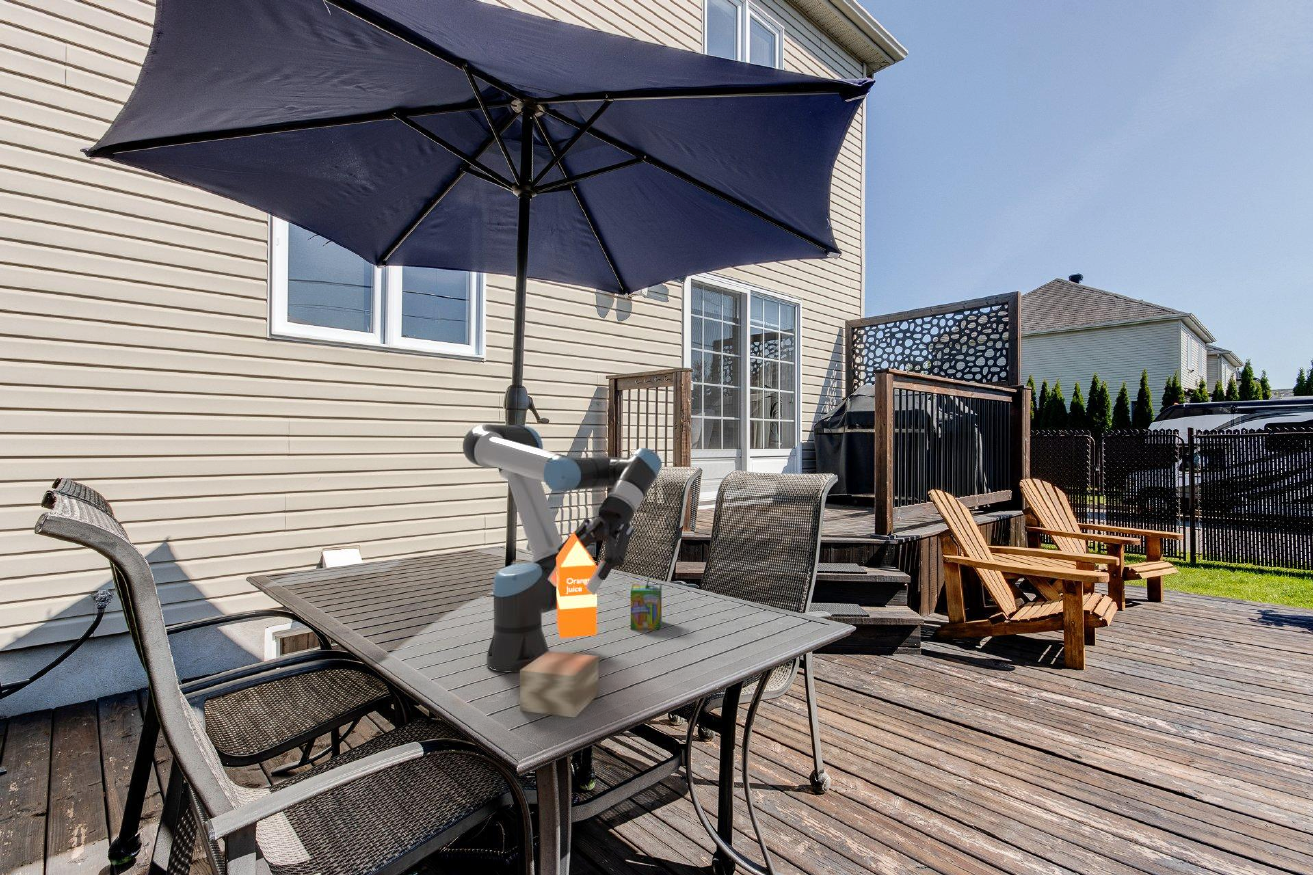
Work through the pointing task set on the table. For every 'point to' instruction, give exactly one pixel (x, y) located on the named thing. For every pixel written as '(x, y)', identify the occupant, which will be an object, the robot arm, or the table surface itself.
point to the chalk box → (646, 606)
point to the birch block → (559, 683)
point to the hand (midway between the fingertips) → (570, 587)
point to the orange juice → (575, 591)
